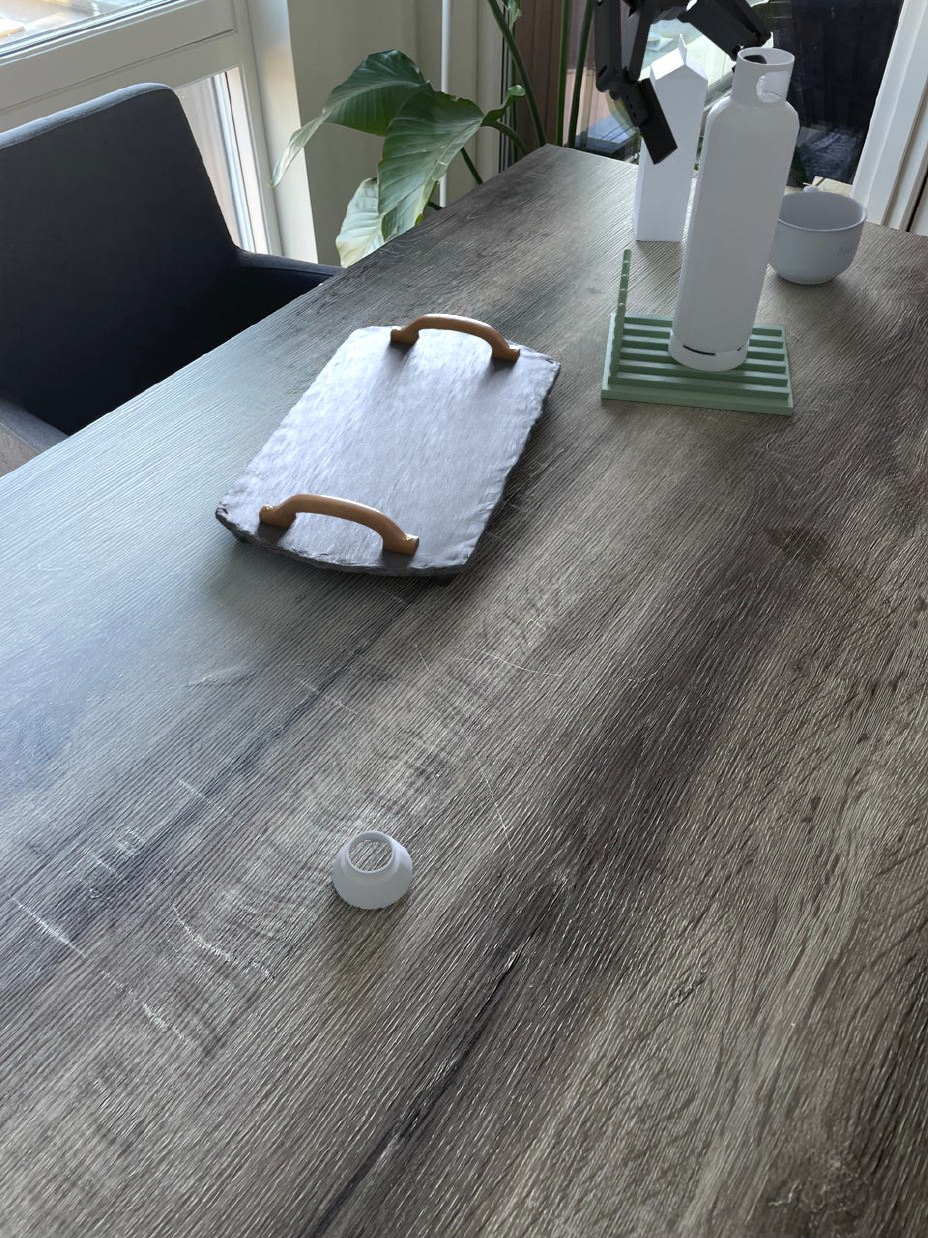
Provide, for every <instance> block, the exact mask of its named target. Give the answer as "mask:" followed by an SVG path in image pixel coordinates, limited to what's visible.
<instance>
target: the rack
mask: <svg viewBox="0 0 928 1238" xmlns="http://www.w3.org/2000/svg"><path fill="white" fill-rule="evenodd" d="M632 254H633V253H632V249H631V248H629V247H627V248H625V249H624V251H623V255H622V265H621V271H620V272H621V273H620V280H619V281H620V282H619V287H618V289H619V290H618V296H617V297H618V298H617V304H616V305H617V306H616V311H615V312H611V313H610V317H609V326H608V334H607V340H606V341H607V342H606V349H605V359H604V367H603V375H602V384H601V389H600V398H601V399H607V400H617V401H618V400H619V401H629V402H639V403H649V404H650V403H651V404H652V403H653V404H659V405H660V404H661V405H671V406H682V407H692V408H702V409H703V408H704V409H713V410H724V411H736V412H746V413H758V414H767V415H778V416H788V417H792V416H793V411H794V409H795V407H794V399H793V398H794V397H793V392H792V391H793V389H792V381H791V375H790V374H791V373H790V365H789V358H788V348H787V340H786V332H785V327H784V326H783V325H775V324H765V323H763V324H762V323H754V325H753V329H752V334H751V336H750V338H749V346H748V351H747V355H746V358H745V360H744V361H743V363H742V364H740V365H739V366H737V367H735V368H733V369H729V370H725V371H703V370H698V369H694V368H690V367H687V366H685V365H683V364H681V363H679V362H678V361H677V360H675V359H674V358H673V357H672V356H671V354H670V352H669V350H668V347H669V340H670V334H671V330H672V323H673V316H670V315H669V316H668V315H659V314H657V315H656V314H647V313H634V312H627V300H628V289H629V283H630V282H629V281H630V271H631V261H632ZM683 347H684V348H686V349H688V350H690V351H692V352H696V353H699V354H703V355H712V356H715V354H716V353H708V352H702V351H698V350H694V349H691V348H689V347H687V346H685V345H683ZM739 350H740V348H739V349H737V351H739Z"/></svg>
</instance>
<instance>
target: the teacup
mask: <svg viewBox="0 0 928 1238" xmlns="http://www.w3.org/2000/svg"><path fill="white" fill-rule="evenodd" d="M867 219H868V210H867V207H866V206H864V205H863V204H862V203H861V201H858V200H856V199H854V198H852V197H850V196H847V195H845V194H841V193H836V192H830V191H822V190H821V191H819V188H818V186H817V185H807V186H805V187H804V188H803V190H802V191H795V192H791V193H786V194H784V196H783V201H782V205H781V209H780V213H779V218H778V222H777V226H776V231H775V235H774V239H773V244H772V248H771V252H770V256H769V261H768V265H769V266H770V268H772V269H773V271H775V272H776V273H777V275H779V276H780V277H781V278H782V279H784V280H785V281H788V282H790V283H793V284H799V285H806V286H807V285H809V286H810V285H820V284H824V283H827V282H829V281H832V280H833V279H834V278H836V277H838V276H840V275H842V274H843V273H845V272H846V271H847V270H848V269H849V268H850V267H851V265H852V263H853V262H854V259H855V257H856V254H857V251H858V248H859V245H860V241H861V237H862V233H863V230H864V225H865V222H866V220H867Z"/></svg>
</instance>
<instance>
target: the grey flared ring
mask: <svg viewBox="0 0 928 1238" xmlns="http://www.w3.org/2000/svg"><path fill="white" fill-rule="evenodd" d="M364 840H371V841H370V843H374V842H381V841H384V844H385V843H387V844H388V845H389V846H390V848H391V850H392V855H391V858H390V860H389V861H388V862H387V864H386V865H384V866H383V867H381V868H380V869H377V870H373V871H365V870H361V869H359V868H357V867H355V866H354V865H353V864H352V863H351V861H350V859H349V855H350V852H351V850H352V848H353V847H354V846H355V845H356V844H357V843H358V842H363V843H364ZM331 871H332V873H331V874H332V875H331V881H332V884H333V883H334V884H333V886H334V889H335V888H336V889H335V891H336V890H337V891H336V893H337V892H338V893H337V895H338V894H339V895H340V896H341V897H342V898H343V899H344V900H343V899H342V898H341V897H340V896H339V895H338V896H339V897H340V898H341V899H342V900H343V901H345V902H346V901H347V902H348V903H349V904H350V905H349V904H348V903H347V902H346V903H347V904H348V905H349V906H351V905H353V906H352V907H355V906H356V907H355V908H358V907H360V908H359V909H361V908H362V909H361V910H364V909H368V910H379V909H378V908H382V909H384V908H386V907H388V906H391V905H393V904H395V903H397V902H398V901H399V900H400V899H401V898H402V897H403V896H404V895H405V894H406V893H407V892H408V890H409V888H410V885H411V883H412V880H413V878H414V876H413V875H414V874H413V859H412V857H411V856H410V854H409V852H408V850H407V848H406V847H404V846H403V844H401V843H400V842H398V841H397V840H396V839H395V838H393V837H391V836H390V835H388V834H386V833H385V832H382V831H379V830H364V831H361V832H359V833H357V834H355V835H354V836H352V837H351V838H350V839H349V841H348V842H347V843H346V844H345V845H344V846H343V847H342V848H341V849H340V850H339V851H338V853H337V854H336V857H335V860H334V861H333V864H332V870H331ZM408 887H409V888H408ZM400 897H401V898H400Z"/></svg>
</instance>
